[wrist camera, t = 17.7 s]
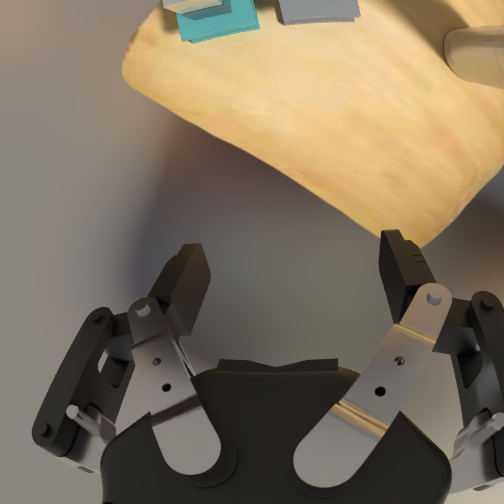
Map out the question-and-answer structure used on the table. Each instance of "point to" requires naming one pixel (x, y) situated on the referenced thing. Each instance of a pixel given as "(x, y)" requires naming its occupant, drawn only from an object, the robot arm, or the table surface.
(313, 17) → the slate stand
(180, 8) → the block
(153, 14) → the table surface
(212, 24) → the teal stand
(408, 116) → the table surface
